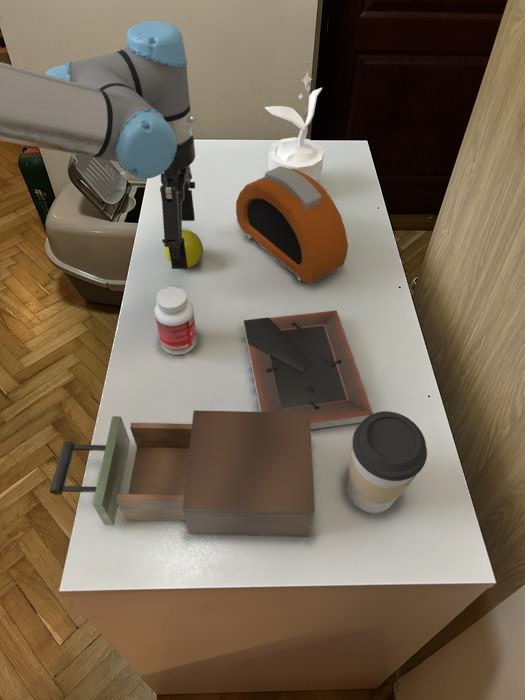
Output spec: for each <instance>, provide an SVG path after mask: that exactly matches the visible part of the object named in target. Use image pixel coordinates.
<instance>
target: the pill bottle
mask: <svg viewBox="0 0 525 700" xmlns="http://www.w3.org/2000/svg"><path fill="white" fill-rule="evenodd" d="M194 312H195V311H194V307H193V304H192V302H191V301H190V300H189V298H188V295H187V293H186V291H185V290H184V289H183V288H181V287H179V286H167V287H164V288H162V289H161V290H159V291H158V293H157V294H156V305H155V307H154V317H155V318H154V319H155V322H156V327H157V332H158V336H159V341H160V345H161V348H162V349H163V350H164V351H165V352H166V353H168V354H171V355H177V356H179V355H185V354H187V353H189V352H191V351H192V350H193V349H194V348H195V347H196V345H197V342H198V339H197V338H198V337H197V328H196V320H195V313H194Z"/></svg>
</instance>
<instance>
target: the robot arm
mask: <svg viewBox="0 0 525 700" xmlns="http://www.w3.org/2000/svg"><path fill="white" fill-rule="evenodd" d="M183 39H184V38H183V35H182V33H181V31H180V29H179V28H178V27H176V26H175V25H173V24H172V23H170V22H167V21H162V20H147V21H141V22H139V23H136V25H133V26H131V27H129V29H128V30H127V33H126V40H127V41H126V46H127V47H126V48H123V49H119V50H117V51H115V52H110V53H106V54H102V55H98V56H94V57H89V58H85V59H80V60H77V61H68V62H66V63H64V64H62V65H59V66H55V67H52V68H50V69H48V70H47V71H46V72H45V73H43V72H38V71H35V70H31V69H28V68H24V67H20V66H17V65H12V64H10V63H6V62H1V61H0V142H5V143H11V144H16V145H22V146H26V147H34V148H38V149H39V148H40V149H45V150H49V151H51V150H52V151H56V152H61V153H68V154H74V155H80V156H85V157H91V158H96V159H101V160H105V161H112V162H115V163H117V164H118V166H119V167H120V168H121V169H122V170H123V171H126V172H127V173H129V175H132V176H133V177H135V178H138V179H143V180H146V179H147V180H148V179H152V178H156V177H159V176H160V183H161V185H160V188H159V192H160V198H161V206H162V208H161V209H162V221H163V236H164V237H163V238H162V239H161V242H162V244H164V248H165V247H168V248H169V253H170V259H171V262H170V264H171V269H173V270H188V268H187V267H188V265H187V258H186V251H185V244H184V238H182V230H183V222H195V220H196V217H195V208H194V200H193V191H192V189H194V190H195V189H196V182H195V181H192V178H193V174H192V171H191V167H190V165H192V163H193V162H194V161H195V158H196V148H195V147H196V146H195V138H194V135H193V133H194V132H193V123H195V122H196V116H195V115H191V113H192V111H191V102H190V91H189V83H188V81H189V80H188V79H189V78H188V67H187V66H188V60H187V56H186V49H185V44H184V40H183Z"/></svg>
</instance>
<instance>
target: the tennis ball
mask: <svg viewBox="0 0 525 700" xmlns="http://www.w3.org/2000/svg"><path fill="white" fill-rule="evenodd" d="M182 238H184V244H185V251H186V258H187V265H188V267H187V269H189V268H191V267H193V266H195V265H196V264H198V262H199V261H200V260H201V258H202V256H203V252H204V246H203V242H202V240H201V238H200V237H199V236H198V234H196V233H195V232H193V231H192V230H189V229H183V228H182ZM164 253H165V256H166V258H167V260H168V261H169V262H170V263H171V259H170V253H169V248H168V247H165V246H164Z"/></svg>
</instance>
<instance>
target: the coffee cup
mask: <svg viewBox="0 0 525 700" xmlns="http://www.w3.org/2000/svg"><path fill="white" fill-rule="evenodd" d="M427 458H428V449H427V443H426V439H425V436H424V434H423V432H422V430H421V429H420V428H419V426H418V425H417V423H415V422H414V421H413V420H412V419H410V418H409V417H408V416H406V415H404V414H401V413H398V412H395V411H389V410H387V411H385V410H383V411H377V412H374V413H373V414H371V415H370V416H368V417H366V418H365V419H364V420H363V421H362V422H360V423H358V425H357V427H356V428H355V430H354V432H353V435H352V442H351V449H350V459H349V467H348V479H347V493H348V496H349V498H350V500H351V502H352V503H353V505H355V506H356V507H357V508H358V509H360V510H361V511H364V512H366V513H369V514H378V513H383V512H385V511H387V510H388V509H390V507H391V506H392V505H393V504H394V502H395V501H396V500H397V499H399V497H400V496H401V495H402V494H403V493H404V492H405V490H406V489H407V488H408V486H409V485H410V484H411V483H412V482H413V481H414V479H415V478H416V477H417V475H418V474H419V473H420V472H421V471H422V469H423V468H424V467H425V465H426V462H427Z"/></svg>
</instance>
